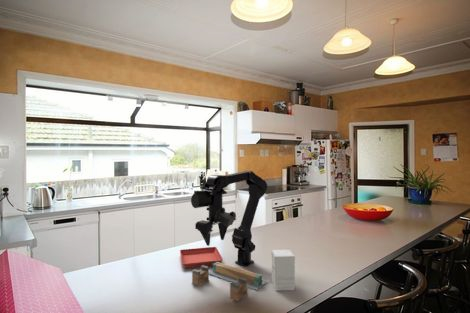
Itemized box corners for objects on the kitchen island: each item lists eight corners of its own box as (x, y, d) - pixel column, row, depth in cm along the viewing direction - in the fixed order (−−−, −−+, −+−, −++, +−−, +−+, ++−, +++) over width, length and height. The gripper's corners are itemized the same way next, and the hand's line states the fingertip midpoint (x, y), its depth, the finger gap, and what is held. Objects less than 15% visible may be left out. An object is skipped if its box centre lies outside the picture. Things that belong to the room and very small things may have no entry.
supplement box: (290, 281, 107) (290, 249, 107) (295, 290, 99) (295, 256, 99) (271, 281, 106) (271, 249, 106) (274, 291, 99) (275, 256, 99)
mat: (219, 267, 119) (219, 266, 119) (267, 282, 105) (267, 281, 105) (206, 273, 113) (206, 272, 113) (256, 290, 99) (256, 289, 99)
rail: (217, 268, 117) (217, 261, 117) (262, 283, 104) (262, 275, 104) (212, 271, 114) (212, 264, 114) (257, 286, 102) (257, 277, 102)
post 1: (202, 278, 109) (203, 265, 109) (208, 280, 107) (208, 267, 107) (192, 283, 104) (192, 270, 104) (198, 286, 102) (198, 272, 102)
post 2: (240, 291, 98) (240, 277, 98) (247, 294, 97) (247, 279, 97) (230, 298, 93) (230, 283, 93) (237, 301, 92) (237, 285, 92)
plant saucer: (181, 271, 116) (181, 263, 116) (179, 256, 134) (179, 249, 134) (223, 267, 121) (223, 259, 121) (216, 253, 138) (216, 246, 138)
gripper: (216, 211, 102) (215, 253, 102) (244, 204, 117) (243, 240, 117) (194, 207, 108) (194, 247, 108) (223, 201, 124) (223, 236, 124)
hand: (215, 242), depth 114 cm, fingers open, 9 cm apart
